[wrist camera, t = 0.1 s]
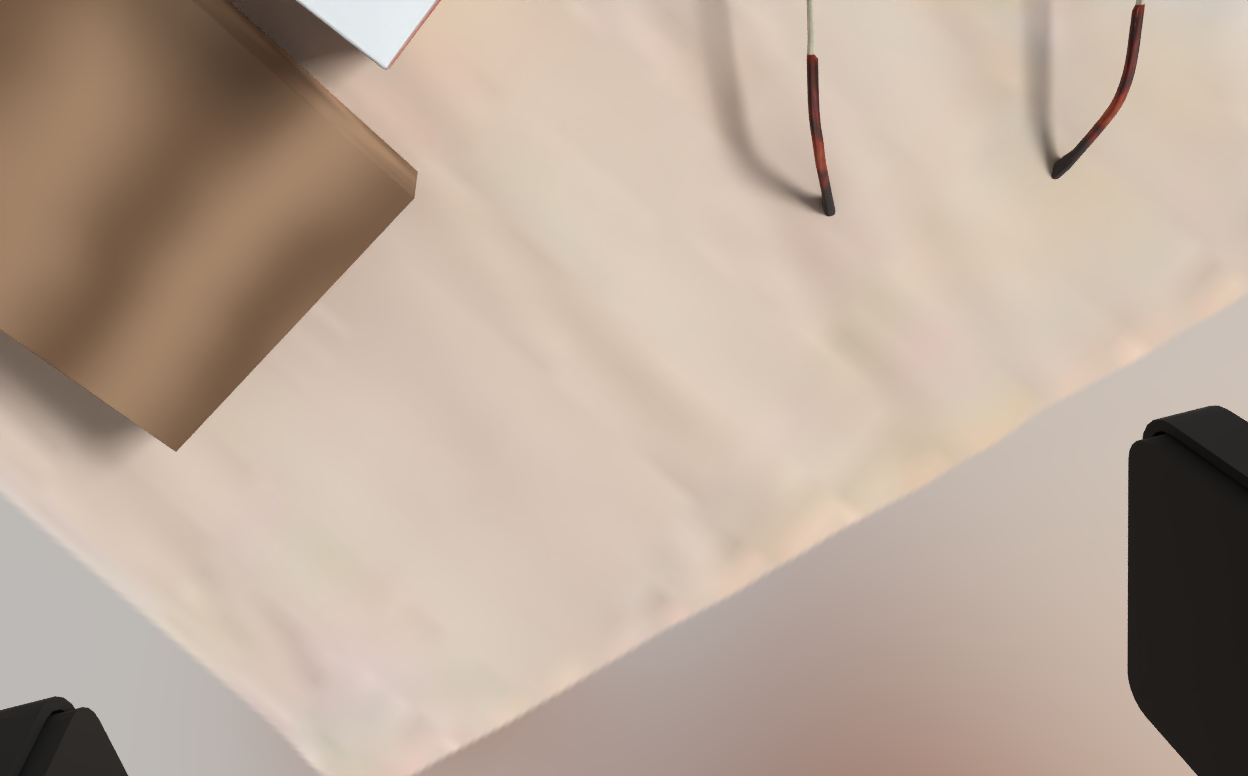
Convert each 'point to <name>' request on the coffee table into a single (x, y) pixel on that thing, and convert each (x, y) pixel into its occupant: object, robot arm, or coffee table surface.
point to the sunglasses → (1059, 166)
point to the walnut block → (172, 198)
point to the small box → (374, 23)
